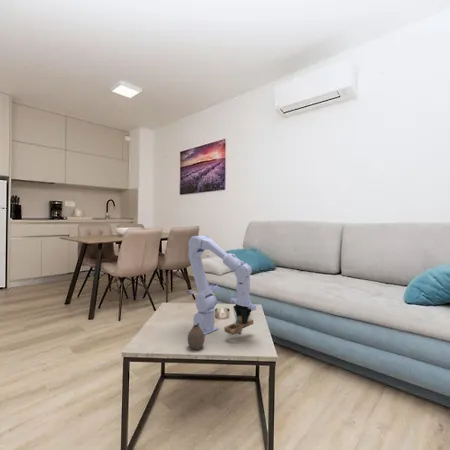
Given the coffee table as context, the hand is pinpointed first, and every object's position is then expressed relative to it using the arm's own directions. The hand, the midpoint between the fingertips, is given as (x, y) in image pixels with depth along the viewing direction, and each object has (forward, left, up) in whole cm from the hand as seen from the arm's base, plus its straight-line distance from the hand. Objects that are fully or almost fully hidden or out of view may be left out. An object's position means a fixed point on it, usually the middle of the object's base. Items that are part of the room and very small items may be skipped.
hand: (242, 322), depth 125 cm
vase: (-20, +8, -7) cm, 23 cm away
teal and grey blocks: (+8, +9, -6) cm, 13 cm away
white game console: (+22, +17, -7) cm, 29 cm away
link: (-1, 0, -2) cm, 2 cm away
